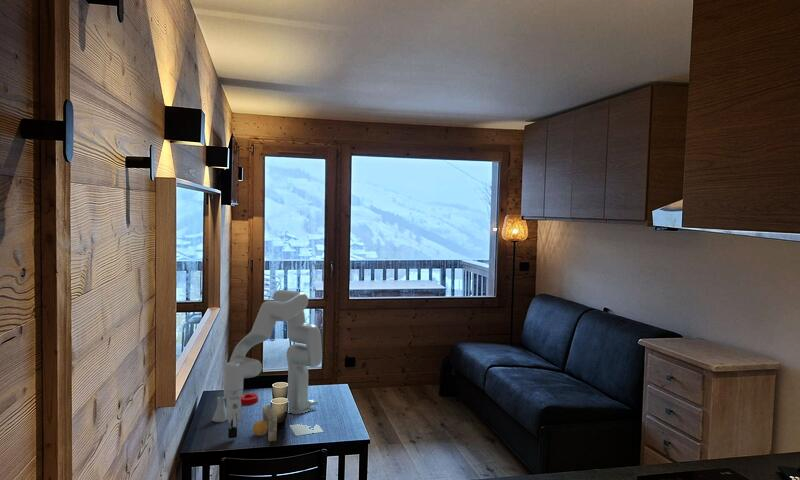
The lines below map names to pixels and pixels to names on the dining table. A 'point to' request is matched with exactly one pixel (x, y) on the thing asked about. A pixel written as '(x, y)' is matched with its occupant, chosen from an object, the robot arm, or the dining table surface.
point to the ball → (260, 428)
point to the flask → (220, 411)
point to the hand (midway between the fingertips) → (232, 437)
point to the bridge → (270, 422)
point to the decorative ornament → (249, 399)
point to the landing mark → (305, 429)
